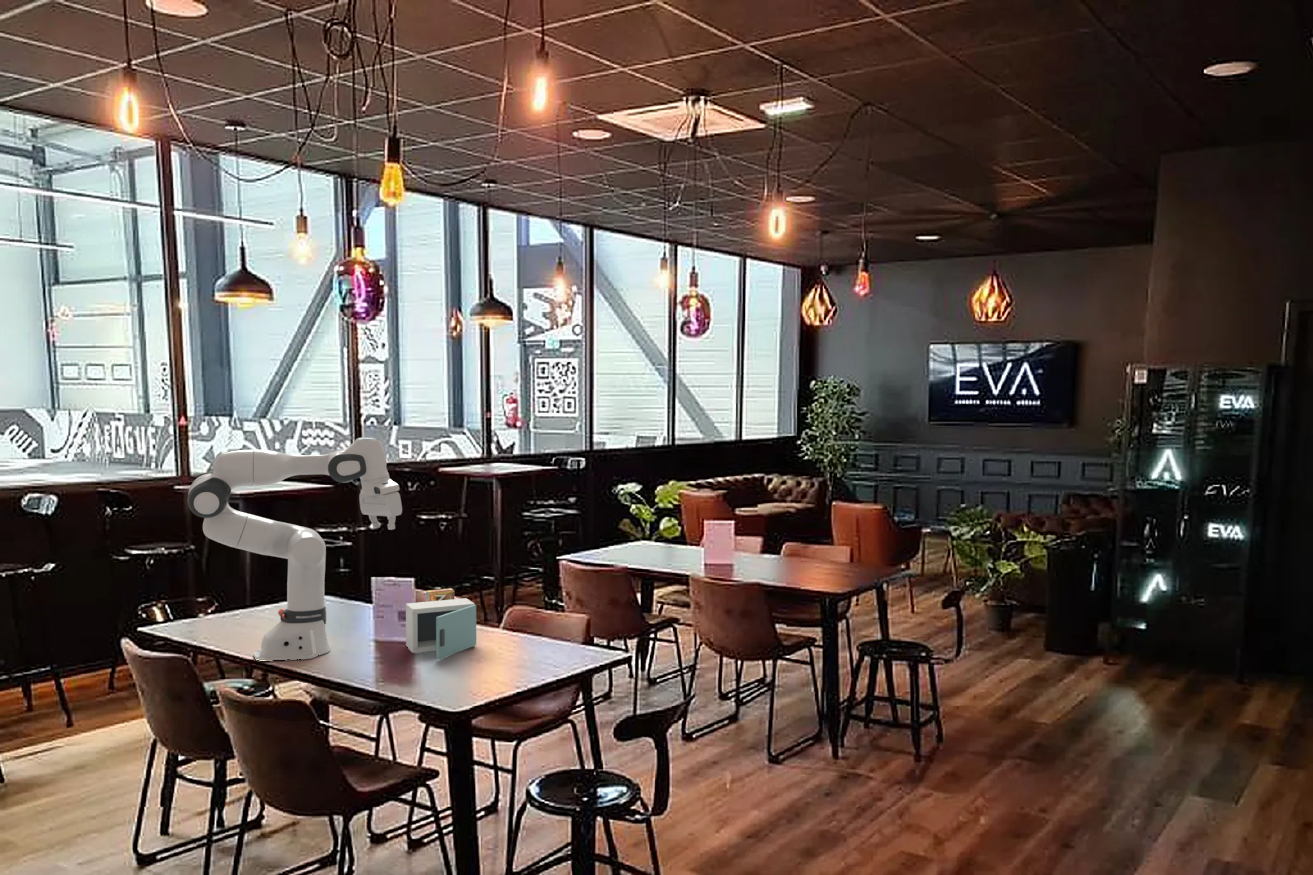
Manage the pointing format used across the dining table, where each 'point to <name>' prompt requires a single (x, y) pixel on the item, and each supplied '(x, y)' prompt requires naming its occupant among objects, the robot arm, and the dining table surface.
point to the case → (427, 622)
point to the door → (455, 631)
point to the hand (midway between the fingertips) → (384, 528)
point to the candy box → (440, 595)
